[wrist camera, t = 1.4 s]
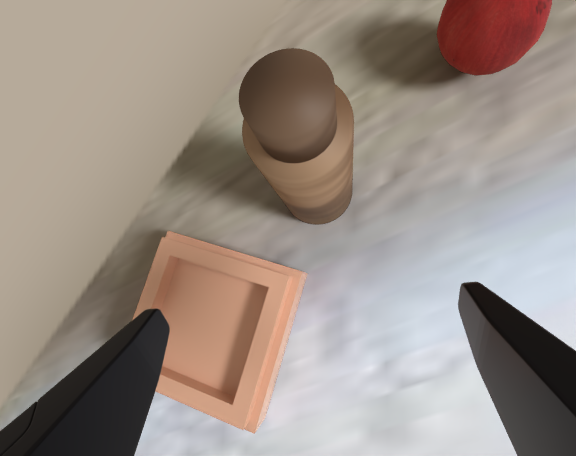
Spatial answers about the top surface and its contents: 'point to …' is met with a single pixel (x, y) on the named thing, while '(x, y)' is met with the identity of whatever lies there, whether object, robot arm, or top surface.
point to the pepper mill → (300, 133)
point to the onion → (489, 32)
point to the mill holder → (221, 326)
